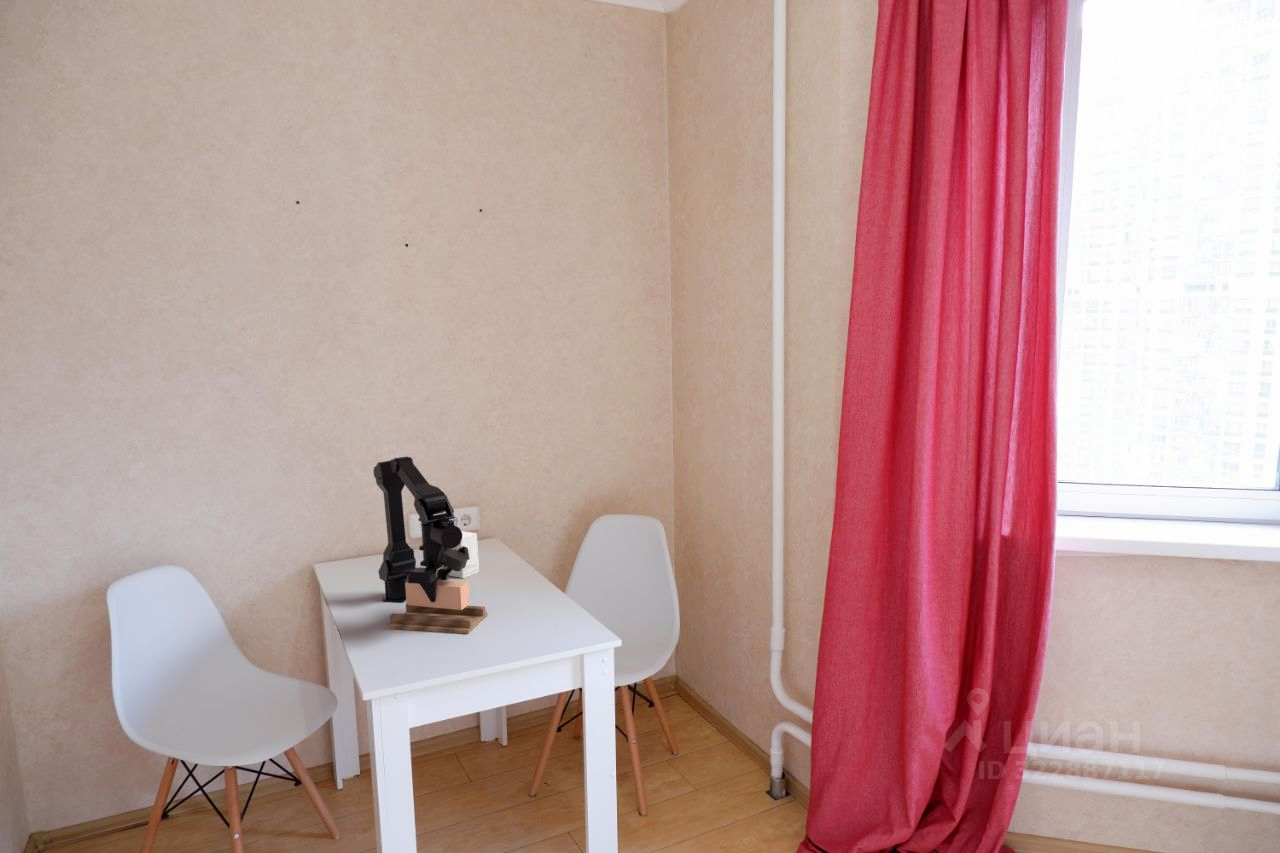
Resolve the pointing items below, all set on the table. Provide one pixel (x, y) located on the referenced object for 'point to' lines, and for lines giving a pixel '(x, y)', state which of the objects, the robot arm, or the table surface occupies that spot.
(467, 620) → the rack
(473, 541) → the supplement box
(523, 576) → the table surface
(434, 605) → the peach rectangular block
